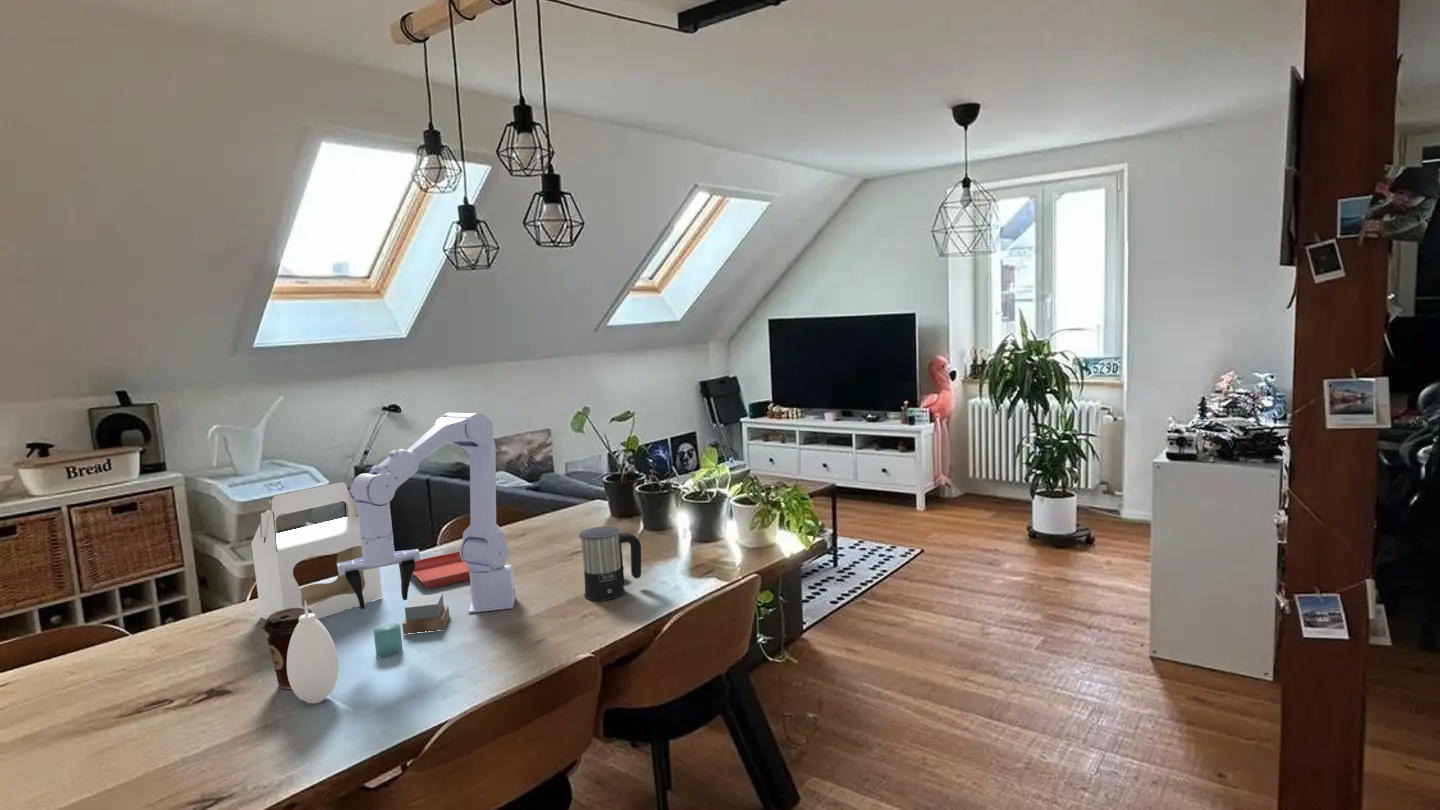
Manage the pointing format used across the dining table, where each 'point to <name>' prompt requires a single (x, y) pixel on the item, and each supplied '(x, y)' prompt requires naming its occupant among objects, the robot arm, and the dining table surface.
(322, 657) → the sauce bottle
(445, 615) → the walnut slab
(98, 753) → the dining table surface
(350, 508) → the gable box
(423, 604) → the gray block
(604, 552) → the milk frother
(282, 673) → the coffee cup
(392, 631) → the teal cylinder
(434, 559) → the plant saucer
